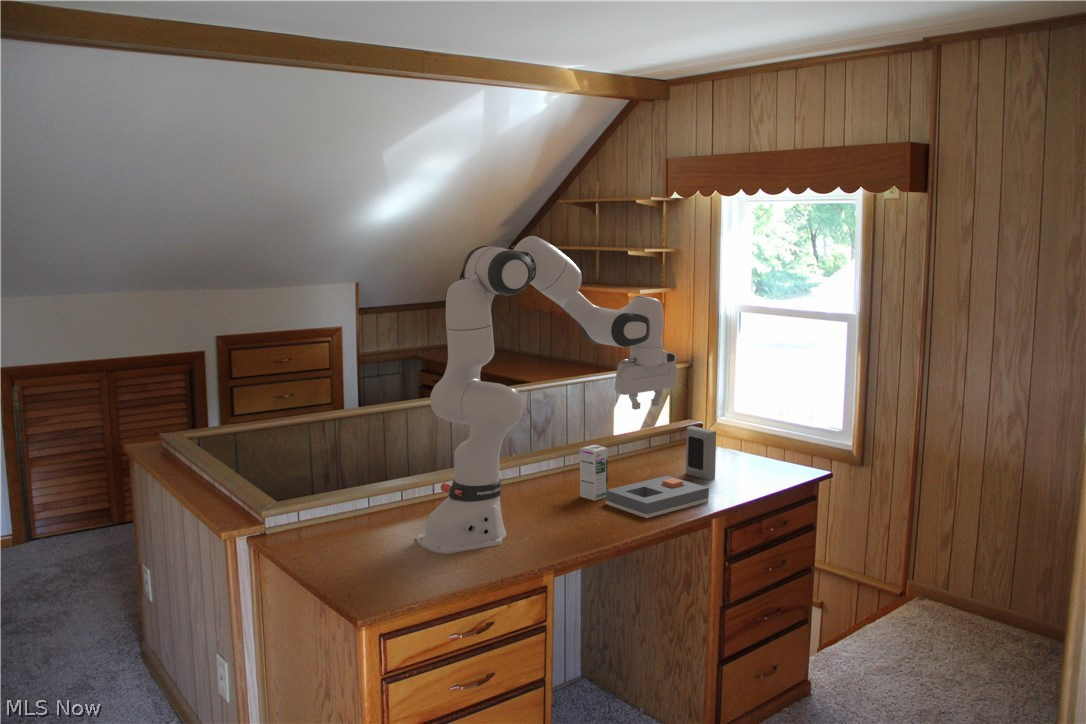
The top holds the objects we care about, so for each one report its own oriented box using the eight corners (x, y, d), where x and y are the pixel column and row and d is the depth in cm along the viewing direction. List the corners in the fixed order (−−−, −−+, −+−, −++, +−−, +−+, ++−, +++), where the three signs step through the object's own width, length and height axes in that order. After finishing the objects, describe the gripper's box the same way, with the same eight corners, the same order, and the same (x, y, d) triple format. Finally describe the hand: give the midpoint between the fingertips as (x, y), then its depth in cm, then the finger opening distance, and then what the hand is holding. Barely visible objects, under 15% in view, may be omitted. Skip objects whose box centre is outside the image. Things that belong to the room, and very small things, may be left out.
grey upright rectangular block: (683, 475, 282) (684, 427, 280) (691, 473, 285) (692, 426, 282) (707, 481, 275) (708, 432, 273) (715, 479, 277) (716, 431, 275)
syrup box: (594, 501, 255) (595, 450, 253) (579, 497, 259) (579, 447, 257) (608, 497, 259) (608, 447, 257) (592, 493, 263) (593, 443, 261)
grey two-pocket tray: (646, 518, 240) (646, 503, 239) (605, 504, 252) (605, 490, 252) (708, 501, 255) (708, 487, 254) (666, 488, 267) (667, 475, 266)
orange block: (672, 492, 254) (673, 483, 254) (662, 489, 257) (662, 480, 257) (682, 489, 256) (682, 481, 256) (672, 486, 260) (672, 478, 259)
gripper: (626, 361, 236) (625, 414, 238) (681, 354, 248) (680, 404, 250) (609, 358, 241) (609, 410, 243) (664, 352, 253) (663, 401, 255)
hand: (645, 407), depth 246 cm, fingers open, 6 cm apart
